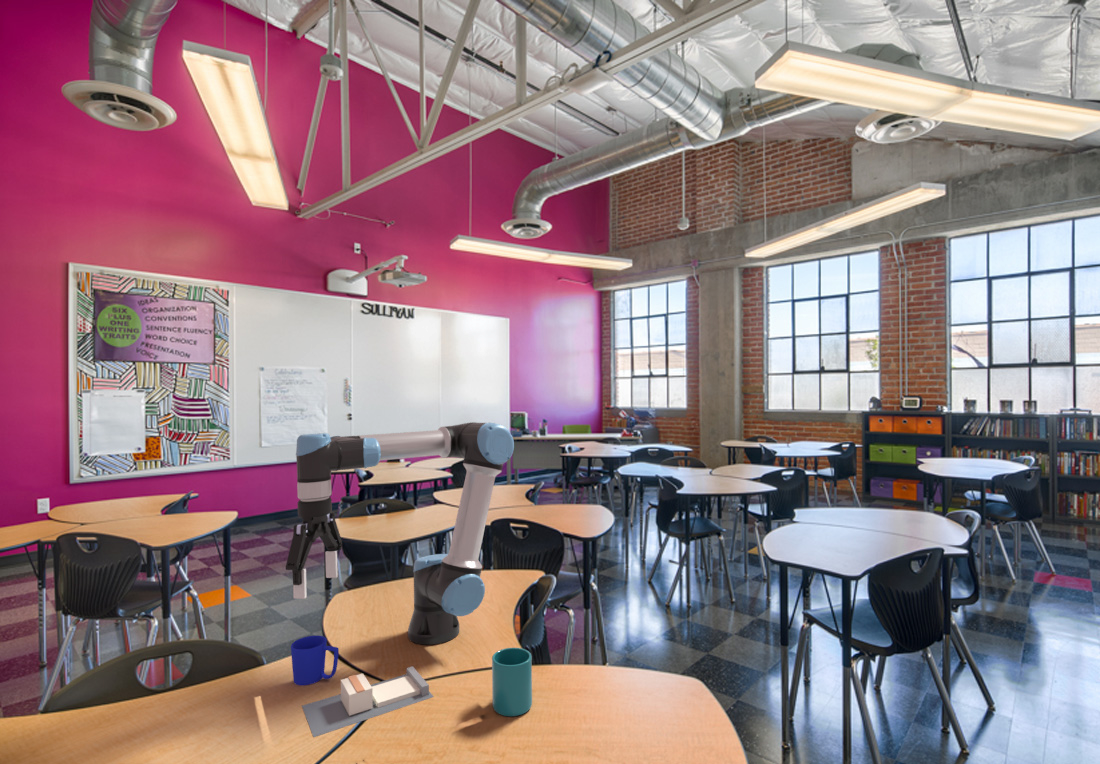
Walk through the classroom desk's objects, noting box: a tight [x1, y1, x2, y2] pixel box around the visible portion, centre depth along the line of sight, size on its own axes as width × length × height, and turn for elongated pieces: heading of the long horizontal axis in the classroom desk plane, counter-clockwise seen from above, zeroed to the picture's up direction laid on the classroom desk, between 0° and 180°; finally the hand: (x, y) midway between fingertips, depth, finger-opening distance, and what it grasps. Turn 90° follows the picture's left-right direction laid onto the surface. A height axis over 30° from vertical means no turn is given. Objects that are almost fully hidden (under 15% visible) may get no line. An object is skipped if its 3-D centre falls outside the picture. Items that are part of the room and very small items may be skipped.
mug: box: [290, 635, 340, 686], centre depth 134 cm, size 8×12×10 cm
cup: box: [491, 647, 533, 717], centre depth 124 cm, size 9×12×11 cm
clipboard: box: [301, 665, 434, 738], centre depth 123 cm, size 26×14×3 cm, turn 124°
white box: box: [340, 673, 373, 716], centre depth 122 cm, size 5×8×5 cm, turn 34°
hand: (316, 587), depth 128 cm, fingers open, 13 cm apart
